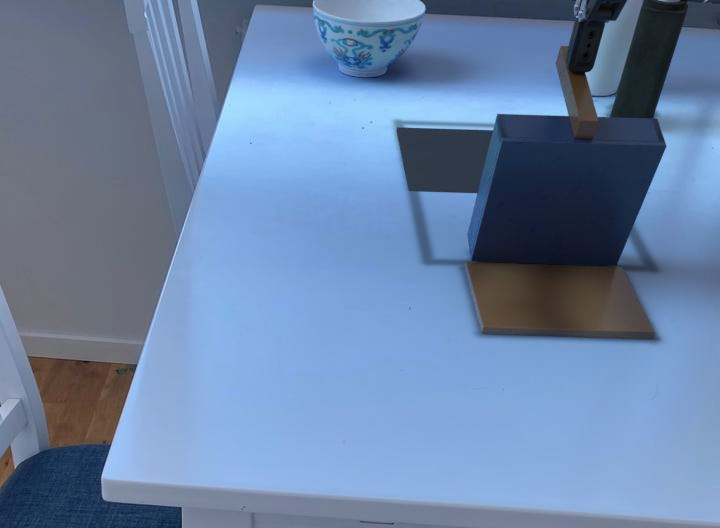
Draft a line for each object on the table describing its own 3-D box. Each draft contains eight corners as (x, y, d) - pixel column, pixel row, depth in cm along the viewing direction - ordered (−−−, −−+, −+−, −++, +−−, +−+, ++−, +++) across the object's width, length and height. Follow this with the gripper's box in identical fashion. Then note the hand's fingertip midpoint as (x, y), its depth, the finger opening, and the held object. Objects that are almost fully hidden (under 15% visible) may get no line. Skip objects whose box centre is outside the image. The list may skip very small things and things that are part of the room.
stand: (616, 282, 91) (621, 266, 90) (648, 348, 83) (654, 332, 82) (462, 277, 91) (465, 261, 90) (479, 343, 83) (483, 326, 82)
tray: (616, 266, 90) (596, 187, 96) (674, 127, 78) (646, 48, 85) (470, 261, 90) (459, 183, 97) (507, 122, 79) (491, 43, 85)
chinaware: (356, 44, 138) (362, -18, 132) (438, 70, 131) (448, 6, 125) (286, 67, 131) (289, 2, 125) (369, 96, 124) (377, 29, 118)
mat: (574, 136, 116) (575, 132, 116) (650, 278, 92) (651, 274, 92) (396, 130, 116) (396, 127, 116) (425, 271, 92) (426, 267, 92)
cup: (646, 101, 124) (684, -20, 114) (571, 104, 123) (603, -18, 113) (613, 74, 131) (646, -43, 121) (542, 76, 130) (569, -41, 120)
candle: (648, 132, 117) (729, -123, 98) (606, 126, 118) (679, -127, 100) (652, 118, 120) (731, -131, 102) (611, 112, 121) (682, -135, 103)
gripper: (723, -174, 65) (639, 98, 78) (671, -205, 74) (603, 45, 87) (615, -177, 65) (549, 95, 78) (576, -208, 74) (522, 42, 87)
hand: (577, 68), depth 83 cm, fingers closed
